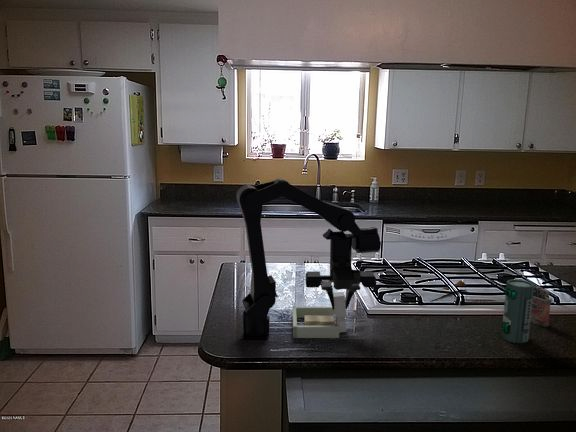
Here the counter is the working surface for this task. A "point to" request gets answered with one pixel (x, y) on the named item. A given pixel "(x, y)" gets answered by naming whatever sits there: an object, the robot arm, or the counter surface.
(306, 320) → the chip
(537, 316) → the red printed box
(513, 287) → the can
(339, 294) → the grey stepped block
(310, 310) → the green u-shaped frame
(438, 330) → the counter surface
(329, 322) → the chip
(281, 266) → the counter surface
